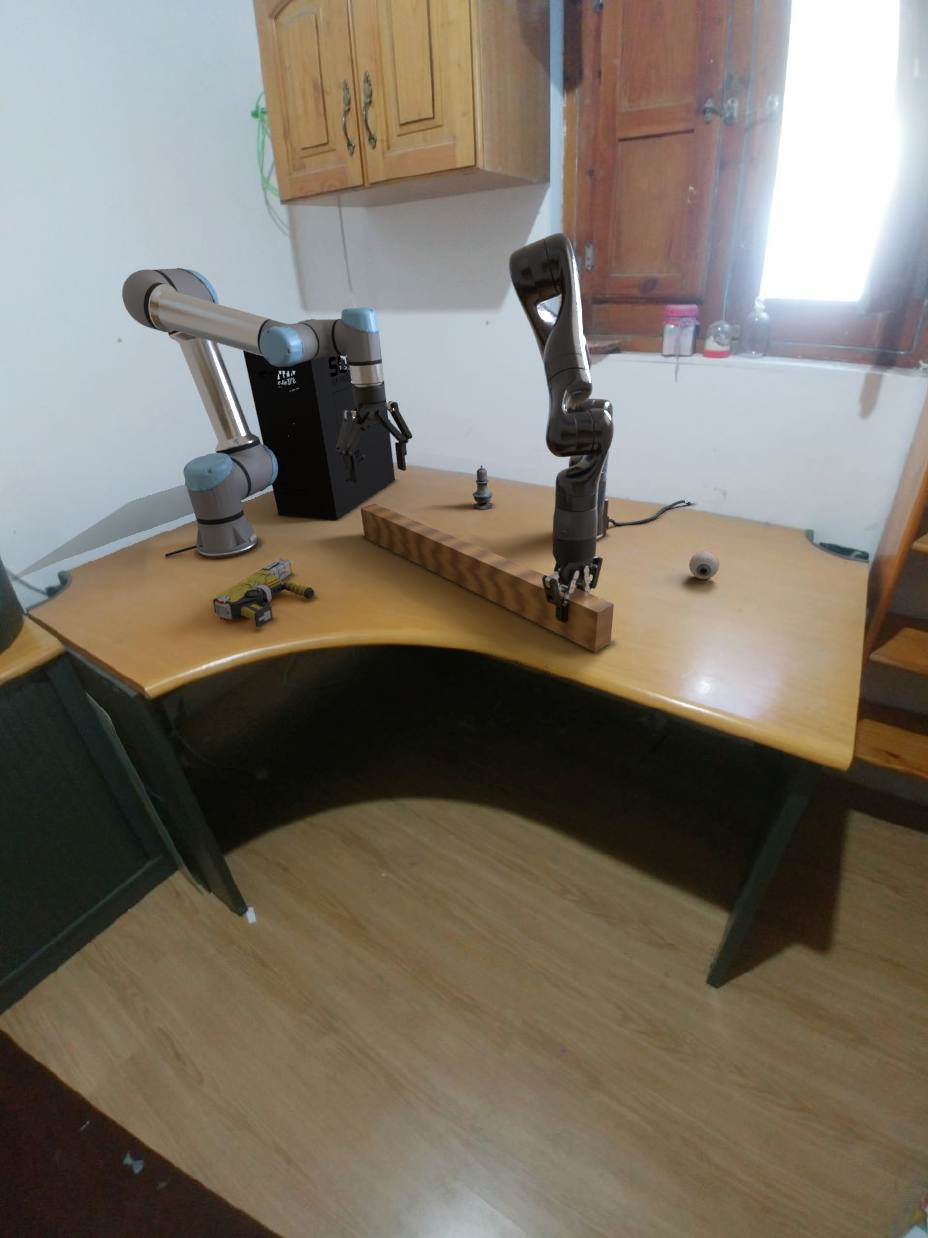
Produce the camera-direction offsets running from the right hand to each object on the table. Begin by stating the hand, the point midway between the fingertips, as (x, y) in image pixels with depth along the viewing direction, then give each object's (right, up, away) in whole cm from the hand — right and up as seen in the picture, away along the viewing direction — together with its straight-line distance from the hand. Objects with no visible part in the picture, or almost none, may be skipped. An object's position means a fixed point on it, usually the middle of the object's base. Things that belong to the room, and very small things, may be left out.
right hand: (571, 615), depth 112 cm
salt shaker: (-14, +33, +65) cm, 74 cm away
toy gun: (-61, +3, +19) cm, 64 cm away
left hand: (-41, +35, +36) cm, 64 cm away
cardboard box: (-59, +38, +79) cm, 106 cm away
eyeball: (+31, +8, +18) cm, 37 cm away
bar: (-20, +8, +23) cm, 31 cm away
